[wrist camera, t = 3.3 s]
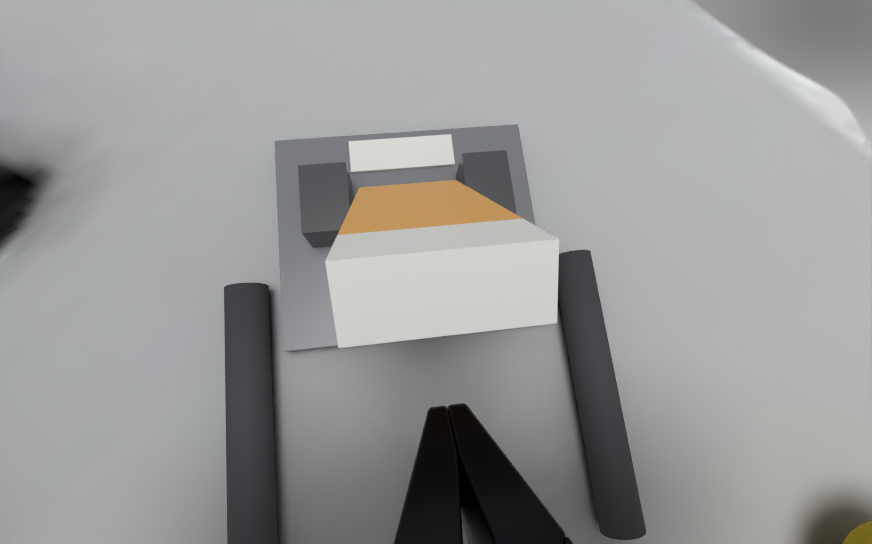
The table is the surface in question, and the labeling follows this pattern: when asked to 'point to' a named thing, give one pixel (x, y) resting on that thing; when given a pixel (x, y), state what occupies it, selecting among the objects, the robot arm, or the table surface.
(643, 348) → the table surface
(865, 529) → the lemon
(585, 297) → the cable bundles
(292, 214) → the base
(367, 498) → the table surface
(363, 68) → the table surface
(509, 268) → the lever
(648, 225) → the table surface
